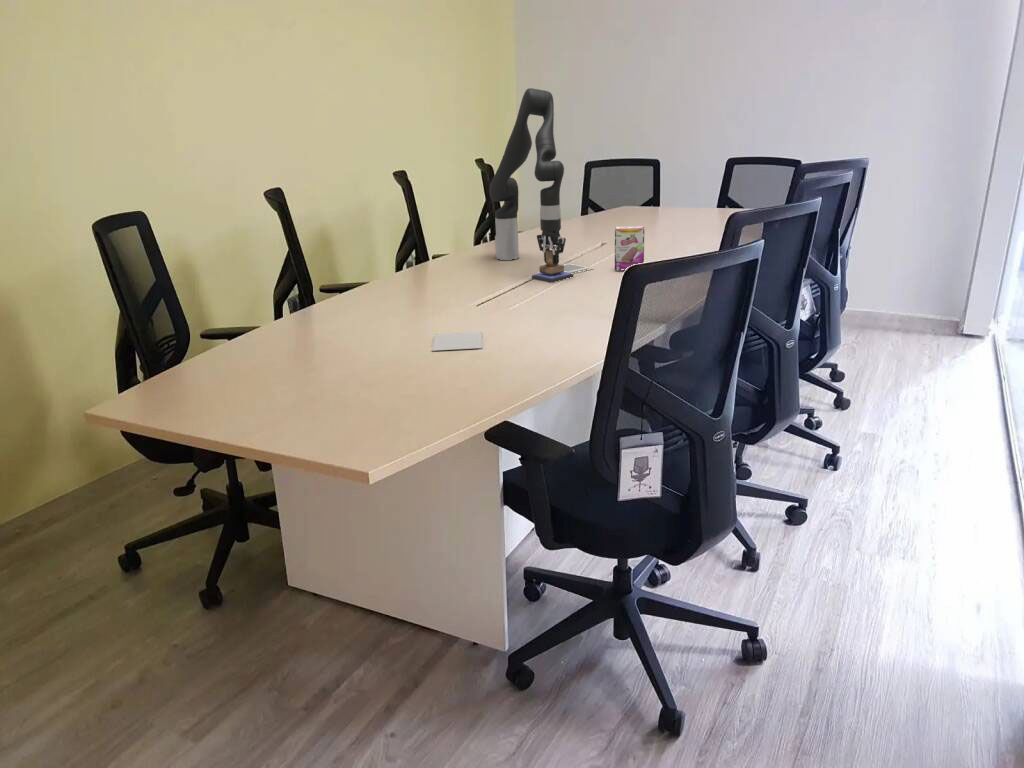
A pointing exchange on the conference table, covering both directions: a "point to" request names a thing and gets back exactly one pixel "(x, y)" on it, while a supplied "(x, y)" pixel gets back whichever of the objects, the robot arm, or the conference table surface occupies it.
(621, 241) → the candy bar box
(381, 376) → the conference table surface
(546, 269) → the stamp
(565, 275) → the ink pad
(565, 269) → the frame board
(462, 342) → the paper stack
